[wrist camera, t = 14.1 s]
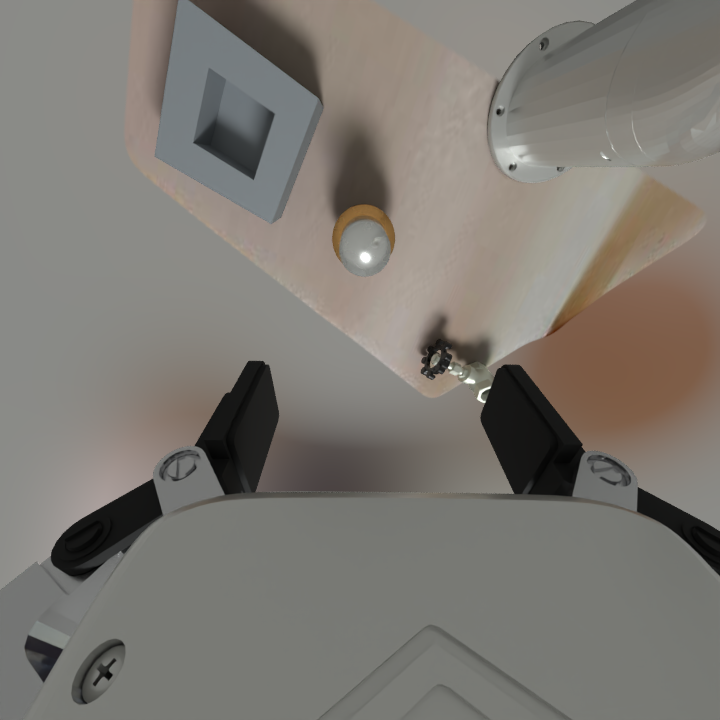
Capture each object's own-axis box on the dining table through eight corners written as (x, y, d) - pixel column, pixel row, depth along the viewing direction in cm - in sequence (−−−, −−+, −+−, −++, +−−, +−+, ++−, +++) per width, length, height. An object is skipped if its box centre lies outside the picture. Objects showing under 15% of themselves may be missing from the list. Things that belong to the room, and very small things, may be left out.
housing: (206, 20, 26) (179, -7, 22) (323, 108, 30) (318, 98, 26) (180, 157, 32) (154, 156, 28) (280, 217, 36) (271, 224, 31)
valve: (496, 360, 49) (441, 331, 45) (514, 385, 43) (452, 353, 40) (470, 387, 52) (416, 361, 48) (484, 413, 46) (424, 385, 43)
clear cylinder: (392, 200, 35) (403, 210, 27) (389, 260, 39) (398, 285, 31) (333, 200, 35) (326, 211, 27) (336, 261, 39) (331, 286, 31)
